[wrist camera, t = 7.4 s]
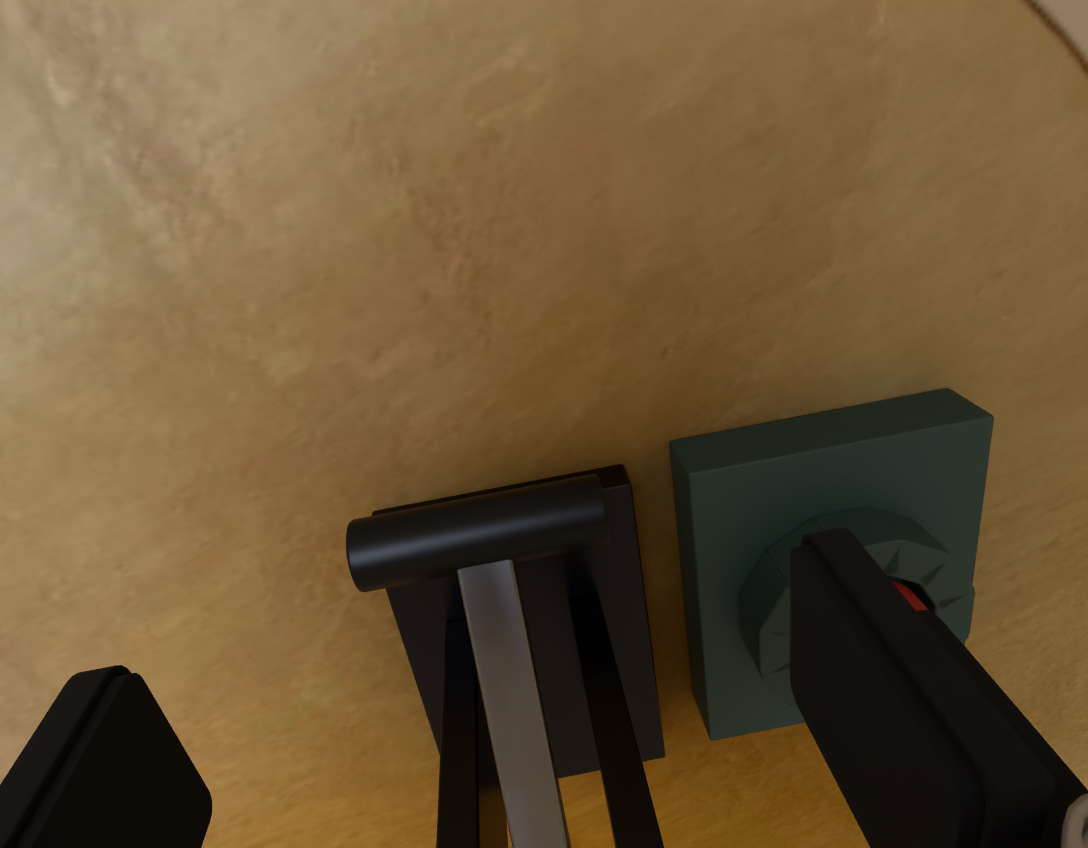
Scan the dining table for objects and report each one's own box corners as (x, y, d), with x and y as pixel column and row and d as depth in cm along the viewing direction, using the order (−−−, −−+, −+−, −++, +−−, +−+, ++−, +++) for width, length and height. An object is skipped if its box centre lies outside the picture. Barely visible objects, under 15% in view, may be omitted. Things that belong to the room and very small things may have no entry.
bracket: (372, 510, 22) (269, 964, 11) (623, 462, 22) (788, 860, 11) (454, 769, 27) (444, 1263, 16) (657, 729, 28) (793, 1189, 16)
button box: (668, 440, 22) (707, 508, 19) (948, 386, 22) (1041, 443, 19) (692, 694, 27) (727, 787, 23) (923, 648, 27) (993, 734, 23)
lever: (362, 509, 15) (332, 535, 13) (591, 465, 15) (604, 483, 13) (471, 1022, 16) (462, 1135, 14) (685, 978, 16) (713, 1083, 14)
